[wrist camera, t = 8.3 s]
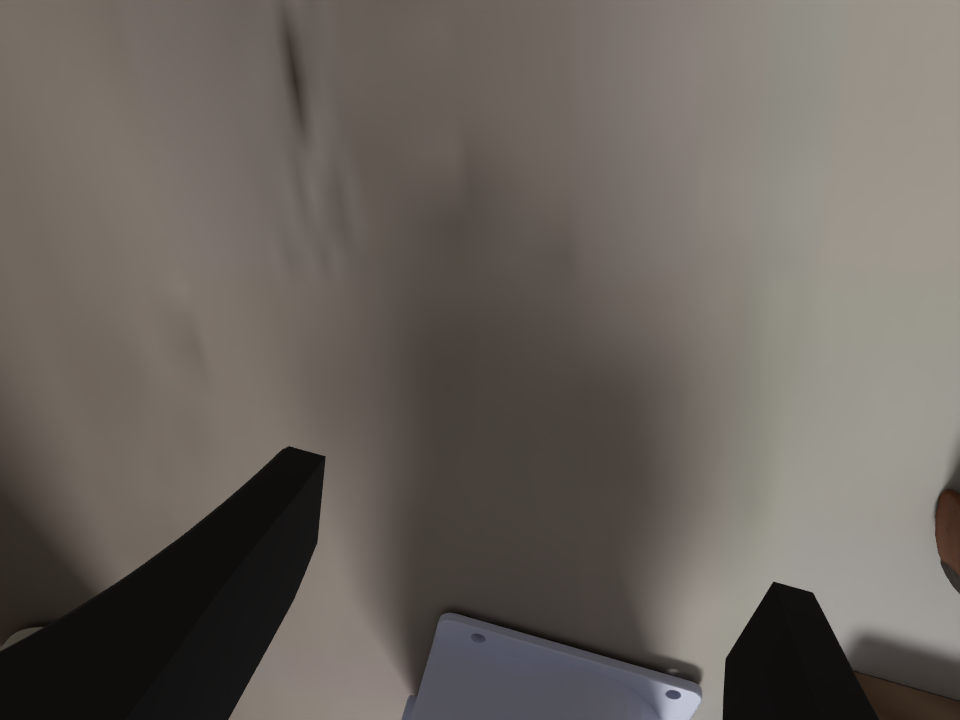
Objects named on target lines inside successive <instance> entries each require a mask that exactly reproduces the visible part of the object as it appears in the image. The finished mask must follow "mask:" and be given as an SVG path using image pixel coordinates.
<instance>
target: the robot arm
mask: <svg viewBox="0 0 960 720" xmlns="http://www.w3.org/2000/svg"><path fill="white" fill-rule="evenodd" d="M325 457H326V456H322V455H318V454H315V453H311V452H308V451H304V450H300V449H297V448H293V447H290V446H289V447H287V448H284V449H282V450H281V451H280V452H279V453H278V454H277V455H276V456H275V457H274V458H273V459H272V460H271V461H270V462H269V463H267V464H266V465H265V466H264V467H263V468H262V469H261V470H260V471H259V472H258V473H257V474H256V475H254V476H253V477H252V478H251V479H250V480H249V481H248V482H247V483H245V484H244V485H243V486H242V487H241V488H240V489H239V490H237V491H236V492H235V493H234V494H233V495H232V496H231V497H229V498H228V499H227V500H226V501H225V502H224V503H222V504H221V505H220V506H219V507H217V508H216V509H215V510H214V511H212V512H211V513H210V514H209V515H208V516H206V517H205V518H204V519H203V520H201V521H200V522H199V523H198V524H196V525H195V526H194V527H193V528H191V529H190V530H189V531H188V532H186V533H185V534H184V535H183V536H181V537H180V538H179V539H177V540H176V541H175V542H173V543H172V544H170V545H169V546H168V547H166V548H165V549H164V550H162V551H161V552H160V553H158V554H157V555H155V556H154V557H153V558H151V559H150V560H149V561H147V562H146V563H144V564H143V565H142V566H140V567H139V568H138V569H136V570H135V571H133V572H132V573H130V574H129V575H127V576H126V577H124V578H123V579H121V580H120V581H118V582H117V583H116V584H114V585H112V586H111V587H109V588H108V589H106V590H105V591H103V592H102V593H100V594H98V595H97V596H95V597H94V598H92V599H90V600H89V601H87V602H86V603H84V604H82V605H81V606H79V607H78V608H76V609H74V610H73V611H71V612H69V613H68V614H66V615H64V616H62V617H61V618H59V619H57V620H55V621H54V622H52V623H50V624H48V625H47V626H45V627H43V628H41V629H40V630H38V631H36V632H34V633H33V634H31V635H29V636H27V637H26V638H24V639H22V640H20V641H18V642H16V643H14V644H13V645H11V646H9V647H7V648H5V649H3V650H1V651H0V720H228V719H229V717H230V715H231V714H232V712H233V710H234V708H235V706H236V704H237V703H238V701H239V699H240V697H241V695H242V694H243V692H244V690H245V688H246V686H247V685H248V683H249V681H250V679H251V677H252V675H253V674H254V672H255V670H256V668H257V666H258V665H259V663H260V661H261V659H262V657H263V655H264V654H265V652H266V650H267V648H268V646H269V645H270V643H271V641H272V639H273V637H274V635H275V634H276V632H277V630H278V628H279V626H280V624H281V623H282V621H283V619H284V617H285V615H286V613H287V611H288V610H289V608H290V606H291V604H292V602H293V600H294V598H295V596H296V593H297V591H298V589H299V586H300V584H301V581H302V579H303V577H304V574H305V572H306V569H307V567H308V564H309V562H310V559H311V557H312V554H313V552H314V549H315V547H316V544H317V540H318V530H319V520H320V509H321V499H322V488H323V478H324V467H325ZM701 702H702V689H701V687H700V686H699V685H698V684H696V683H694V682H692V681H688V680H685V679H681V678H678V677H674V676H671V675H667V674H664V673H660V672H657V671H654V670H650V669H647V668H643V667H640V666H636V665H633V664H629V663H626V662H622V661H619V660H615V659H612V658H608V657H605V656H601V655H598V654H594V653H591V652H588V651H584V650H581V649H577V648H574V647H570V646H567V645H563V644H560V643H556V642H553V641H549V640H546V639H542V638H539V637H535V636H532V635H528V634H525V633H522V632H518V631H515V630H511V629H508V628H504V627H501V626H497V625H494V624H490V623H487V622H483V621H480V620H476V619H473V618H469V617H466V616H463V615H459V614H456V613H445V614H443V615H441V617H440V618H439V621H438V625H437V629H436V633H435V637H434V640H433V644H432V647H431V650H430V654H429V657H428V661H427V664H426V668H425V671H424V675H423V678H422V681H421V685H420V688H419V692H418V695H417V697H416V696H413V695H410V696H409V697H408V700H407V703H406V706H405V709H404V713H403V716H402V720H690V719H691V718H692V716H693V715H694V713H695V711H696V710H697V708H698V707H699V705H700V703H701ZM723 720H879V718H878V716H877V714H876V712H875V711H874V709H873V707H872V705H871V703H870V702H869V700H868V698H867V696H866V694H865V692H864V690H863V689H862V687H861V685H860V683H859V681H858V679H857V677H856V675H855V673H854V671H853V669H852V668H851V666H850V664H849V662H848V660H847V658H846V656H845V654H844V652H843V650H842V648H841V646H840V644H839V642H838V640H837V638H836V636H835V634H834V633H833V631H832V629H831V627H830V625H829V623H828V621H827V619H826V617H825V615H824V613H823V611H822V609H821V607H820V605H819V603H818V601H817V600H816V598H815V596H814V594H813V593H812V592H809V591H805V590H801V589H798V588H794V587H791V586H787V585H784V584H780V583H776V582H773V583H772V585H771V587H770V588H769V590H768V591H767V593H766V595H765V596H764V598H763V600H762V601H761V603H760V604H759V606H758V608H757V609H756V611H755V612H754V614H753V616H752V617H751V619H750V620H749V622H748V624H747V625H746V627H745V629H744V630H743V632H742V633H741V635H740V637H739V638H738V640H737V641H736V643H735V645H734V646H733V648H732V650H731V651H730V653H729V654H728V656H727V658H726V662H725V679H724V696H723Z"/></svg>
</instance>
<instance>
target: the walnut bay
mask: <svg viewBox="0 0 960 720" xmlns="http://www.w3.org/2000/svg"><path fill="white" fill-rule="evenodd" d="M854 673H855V675H856V677H857V679H858V681H859V683H860V685H861V687H862V689H863V690H864V692H865V694H866V696H867V698H868V700H869V702H870V703H871V705H872V707H873V709H874V711H875V712H876V714H877V716H878V718H879V720H960V702H959V701H955V700H952V699H948V698H944V697H941V696H937V695H934V694H930V693H927V692H923V691H920V690H916V689H913V688H909V687H906V686H902V685H899V684H895V683H892V682H888V681H885V680H881V679H878V678H874V677H871V676H867V675H864V674H860V673H856V672H854Z"/></svg>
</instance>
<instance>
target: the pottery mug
mask: <svg viewBox="0 0 960 720" xmlns="http://www.w3.org/2000/svg"><path fill="white" fill-rule="evenodd" d="M935 517H936V524H935V526H936V531H935V536H936V542H937V548H938V553H939V556H940V558H941V566H942V568H943V570H944V573H945V574H946V576H947V578H948V579H949V581H950V583H951V584H952V586H953V587H954V588H955V589H956V590H957V591H958V592H959V594H960V494H958V493H957V492H956V491H954V490H945V491H944V492H943V493H942V494H941V496H940V498H939V504H938V508H937V512H936V516H935Z"/></svg>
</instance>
